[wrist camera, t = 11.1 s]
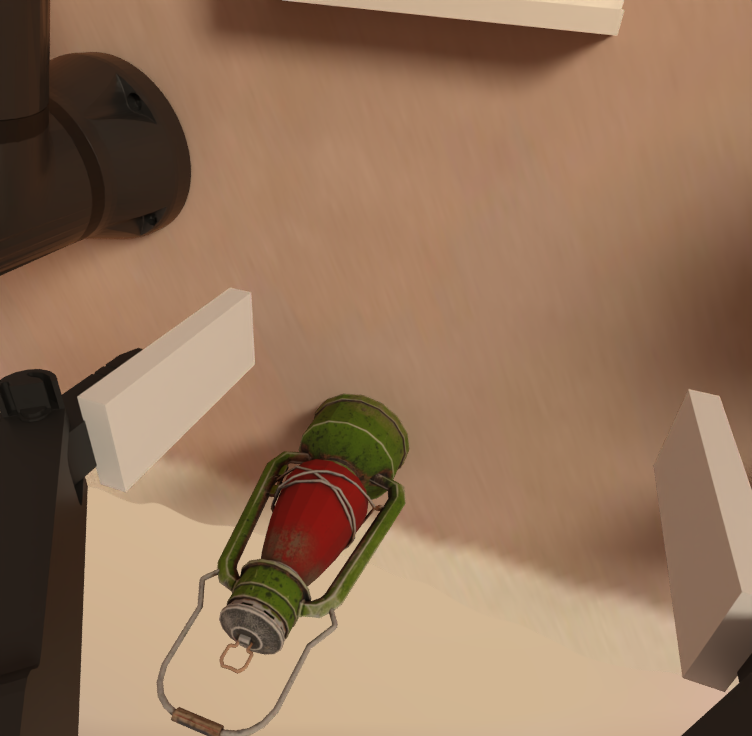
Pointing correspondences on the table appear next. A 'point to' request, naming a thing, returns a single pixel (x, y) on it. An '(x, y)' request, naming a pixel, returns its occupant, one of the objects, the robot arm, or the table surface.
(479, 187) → the table surface
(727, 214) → the table surface
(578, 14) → the tray
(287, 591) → the lantern
